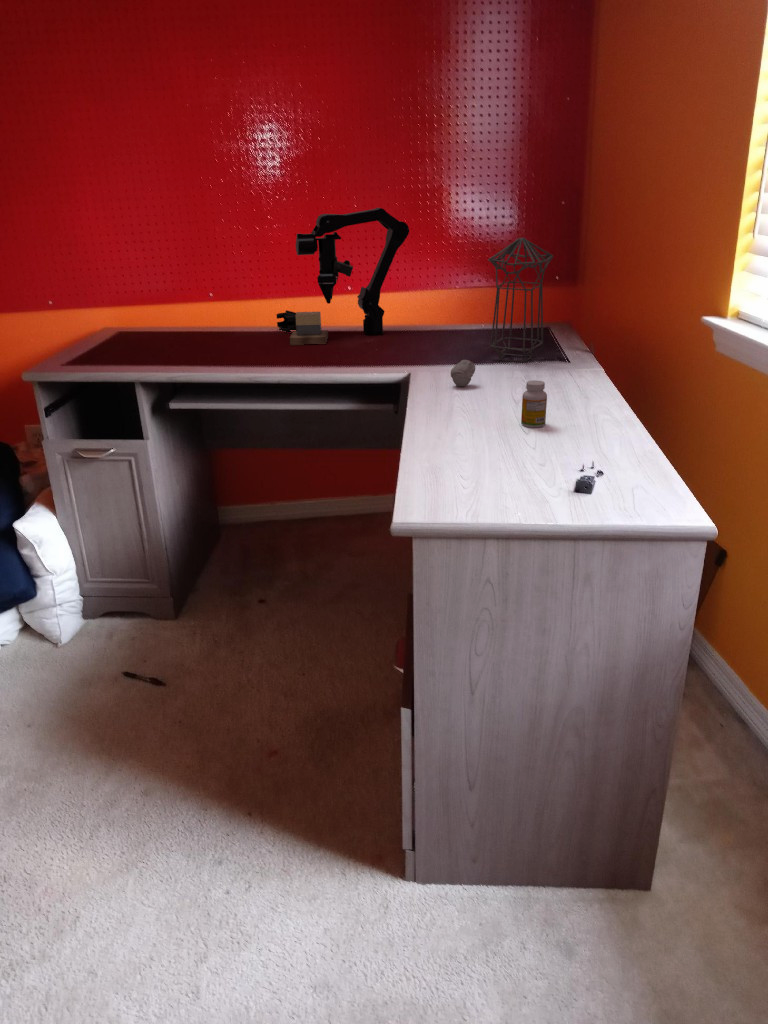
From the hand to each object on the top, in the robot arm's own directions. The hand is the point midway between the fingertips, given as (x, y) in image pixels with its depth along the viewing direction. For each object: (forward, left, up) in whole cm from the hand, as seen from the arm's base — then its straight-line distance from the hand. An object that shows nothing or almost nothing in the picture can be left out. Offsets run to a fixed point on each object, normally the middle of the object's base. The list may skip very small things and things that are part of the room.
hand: (329, 301), depth 271 cm
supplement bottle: (-52, +107, -12) cm, 119 cm away
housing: (+7, +8, -10) cm, 14 cm away
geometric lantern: (-58, +42, -12) cm, 73 cm away
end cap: (+15, -12, -12) cm, 23 cm away
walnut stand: (+7, +8, -12) cm, 16 cm away
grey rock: (-39, +72, -12) cm, 83 cm away
